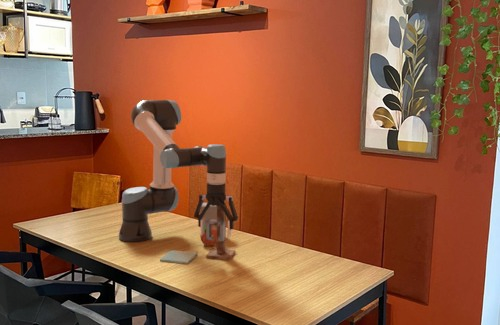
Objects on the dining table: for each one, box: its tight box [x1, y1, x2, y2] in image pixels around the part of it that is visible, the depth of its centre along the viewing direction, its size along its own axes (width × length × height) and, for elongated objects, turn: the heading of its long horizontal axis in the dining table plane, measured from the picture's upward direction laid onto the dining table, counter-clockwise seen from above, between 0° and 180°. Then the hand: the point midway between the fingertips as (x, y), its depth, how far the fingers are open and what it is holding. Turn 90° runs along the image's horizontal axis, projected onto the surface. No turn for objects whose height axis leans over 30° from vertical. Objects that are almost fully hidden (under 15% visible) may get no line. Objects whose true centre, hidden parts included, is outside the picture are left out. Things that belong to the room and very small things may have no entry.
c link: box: [206, 219, 225, 241], centre depth 206 cm, size 7×3×8 cm, turn 77°
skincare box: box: [200, 202, 217, 229], centre depth 243 cm, size 8×7×16 cm
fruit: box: [199, 227, 217, 247], centre depth 229 cm, size 9×10×10 cm
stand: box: [205, 206, 236, 261], centre depth 211 cm, size 10×18×22 cm, turn 167°
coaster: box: [159, 249, 198, 265], centre depth 212 cm, size 12×12×1 cm
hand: (215, 235), depth 207 cm, fingers open, 11 cm apart
